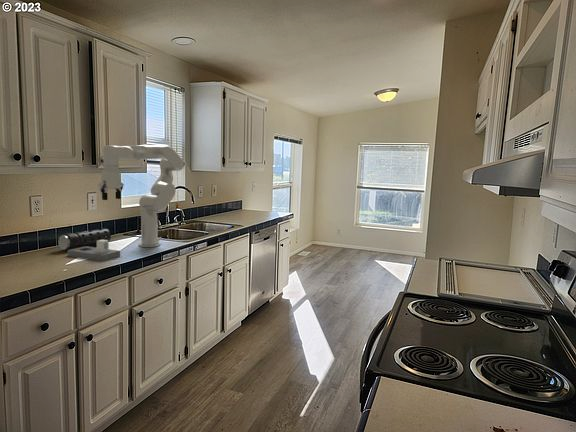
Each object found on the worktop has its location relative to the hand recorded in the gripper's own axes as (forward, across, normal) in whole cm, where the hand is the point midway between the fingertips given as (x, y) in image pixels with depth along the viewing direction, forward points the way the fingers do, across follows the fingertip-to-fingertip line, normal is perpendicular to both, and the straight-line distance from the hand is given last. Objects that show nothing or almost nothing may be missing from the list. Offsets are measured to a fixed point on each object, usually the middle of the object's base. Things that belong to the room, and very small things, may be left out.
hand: (111, 199), depth 214 cm
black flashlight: (+31, -2, -22) cm, 38 cm away
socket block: (+30, +12, -1) cm, 33 cm away
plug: (+30, +12, +5) cm, 32 cm away
